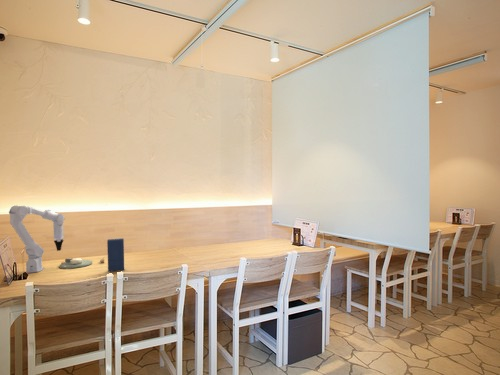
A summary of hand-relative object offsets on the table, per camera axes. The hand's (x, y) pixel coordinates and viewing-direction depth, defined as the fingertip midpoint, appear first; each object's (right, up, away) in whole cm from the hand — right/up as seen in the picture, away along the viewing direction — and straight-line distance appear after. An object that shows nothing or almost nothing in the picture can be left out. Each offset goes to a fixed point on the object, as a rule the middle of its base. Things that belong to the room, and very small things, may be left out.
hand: (58, 250), depth 221 cm
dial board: (+13, -10, -1) cm, 16 cm away
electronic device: (+47, -10, -16) cm, 50 cm away
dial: (+11, -8, -1) cm, 14 cm away
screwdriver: (+27, -10, +7) cm, 30 cm away
